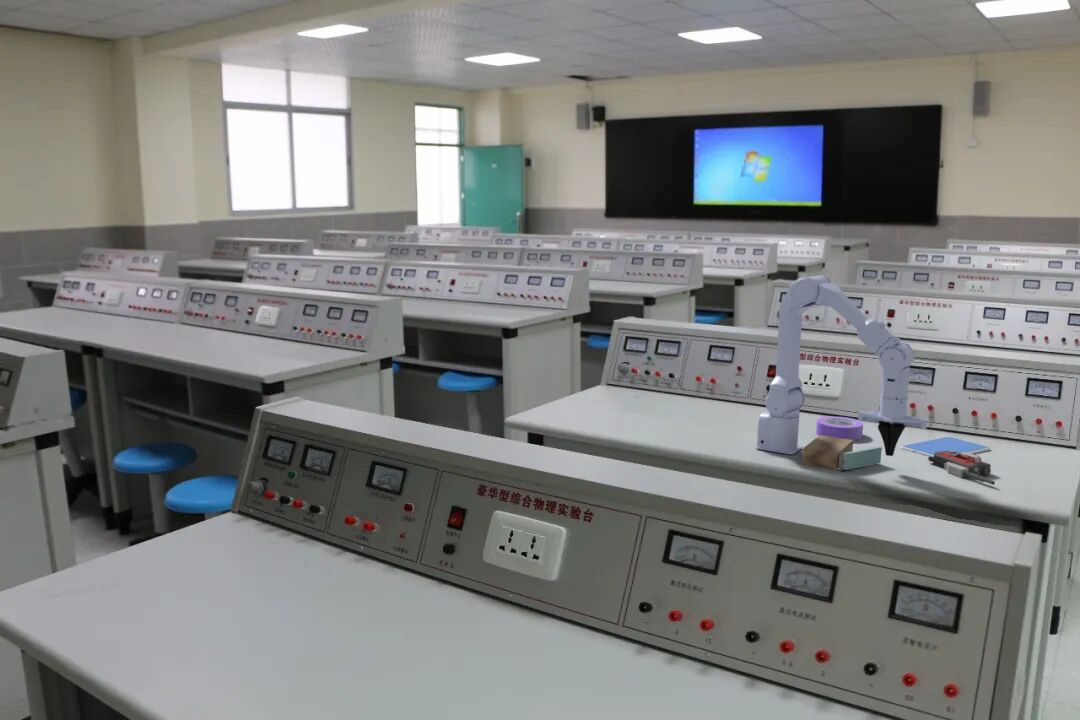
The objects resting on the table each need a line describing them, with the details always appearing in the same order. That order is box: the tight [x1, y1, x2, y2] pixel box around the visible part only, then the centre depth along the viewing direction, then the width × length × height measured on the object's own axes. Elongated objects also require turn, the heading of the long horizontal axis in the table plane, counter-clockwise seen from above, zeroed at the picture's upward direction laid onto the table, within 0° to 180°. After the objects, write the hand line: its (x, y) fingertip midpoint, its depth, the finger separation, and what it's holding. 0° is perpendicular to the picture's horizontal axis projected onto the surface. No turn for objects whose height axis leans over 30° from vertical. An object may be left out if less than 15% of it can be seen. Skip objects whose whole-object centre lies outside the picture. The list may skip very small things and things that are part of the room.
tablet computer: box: [900, 436, 991, 458], centre depth 221 cm, size 19×13×1 cm, turn 120°
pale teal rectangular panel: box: [842, 446, 883, 471], centre depth 204 cm, size 13×1×4 cm, turn 120°
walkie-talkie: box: [927, 450, 996, 486], centre depth 201 cm, size 9×4×20 cm
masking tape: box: [815, 416, 864, 441], centre depth 234 cm, size 12×12×4 cm
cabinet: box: [801, 435, 854, 472], centre depth 209 cm, size 9×15×4 cm, turn 147°
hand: (889, 454), depth 201 cm, fingers closed
